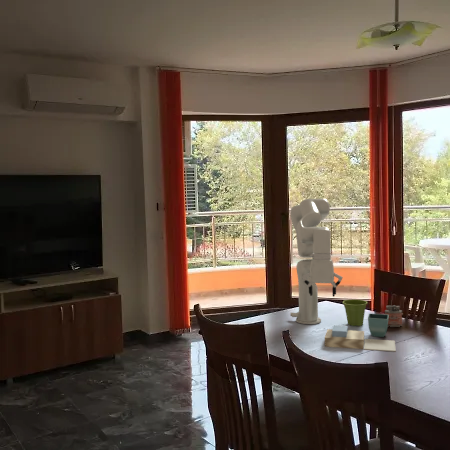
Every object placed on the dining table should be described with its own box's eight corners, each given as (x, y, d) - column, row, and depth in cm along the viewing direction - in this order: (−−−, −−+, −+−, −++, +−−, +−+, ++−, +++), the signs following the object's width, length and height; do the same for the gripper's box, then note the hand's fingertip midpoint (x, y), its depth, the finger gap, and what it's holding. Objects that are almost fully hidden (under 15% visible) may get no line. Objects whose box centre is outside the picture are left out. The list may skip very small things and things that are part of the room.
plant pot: (345, 320, 259) (345, 298, 258) (369, 322, 254) (369, 300, 253) (340, 326, 249) (340, 303, 248) (365, 328, 243) (364, 305, 243)
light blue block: (332, 336, 218) (332, 330, 218) (333, 330, 227) (333, 325, 227) (346, 337, 217) (346, 331, 216) (347, 331, 225) (347, 325, 225)
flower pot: (388, 333, 235) (388, 314, 234) (388, 339, 226) (388, 319, 226) (369, 332, 237) (368, 313, 237) (367, 337, 229) (367, 317, 228)
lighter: (401, 325, 248) (401, 304, 248) (402, 326, 245) (402, 306, 244) (384, 324, 249) (384, 304, 248) (385, 326, 246) (385, 306, 245)
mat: (364, 349, 212) (364, 348, 212) (364, 339, 226) (364, 338, 226) (395, 351, 209) (395, 350, 209) (394, 341, 222) (394, 340, 222)
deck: (324, 346, 218) (324, 337, 217) (327, 337, 230) (327, 329, 230) (363, 349, 213) (363, 339, 213) (364, 340, 225) (364, 331, 225)
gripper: (300, 257, 221) (301, 296, 222) (341, 258, 216) (342, 298, 217) (303, 255, 228) (303, 293, 229) (342, 255, 223) (343, 294, 224)
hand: (322, 295), depth 223 cm, fingers open, 9 cm apart
